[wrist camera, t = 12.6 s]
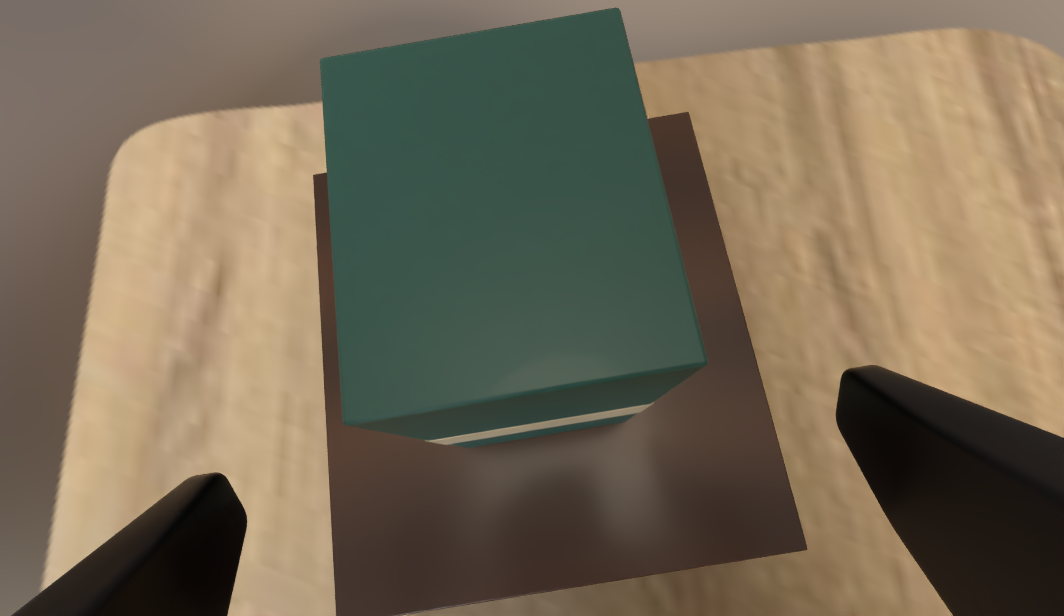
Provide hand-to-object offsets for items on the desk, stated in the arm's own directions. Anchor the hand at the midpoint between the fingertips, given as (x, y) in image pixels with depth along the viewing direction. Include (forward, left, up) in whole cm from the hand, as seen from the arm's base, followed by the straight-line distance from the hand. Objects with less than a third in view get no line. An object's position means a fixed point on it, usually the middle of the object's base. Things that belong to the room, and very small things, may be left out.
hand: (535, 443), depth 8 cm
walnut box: (+3, -1, -14) cm, 14 cm away
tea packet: (+3, -1, -9) cm, 10 cm away
